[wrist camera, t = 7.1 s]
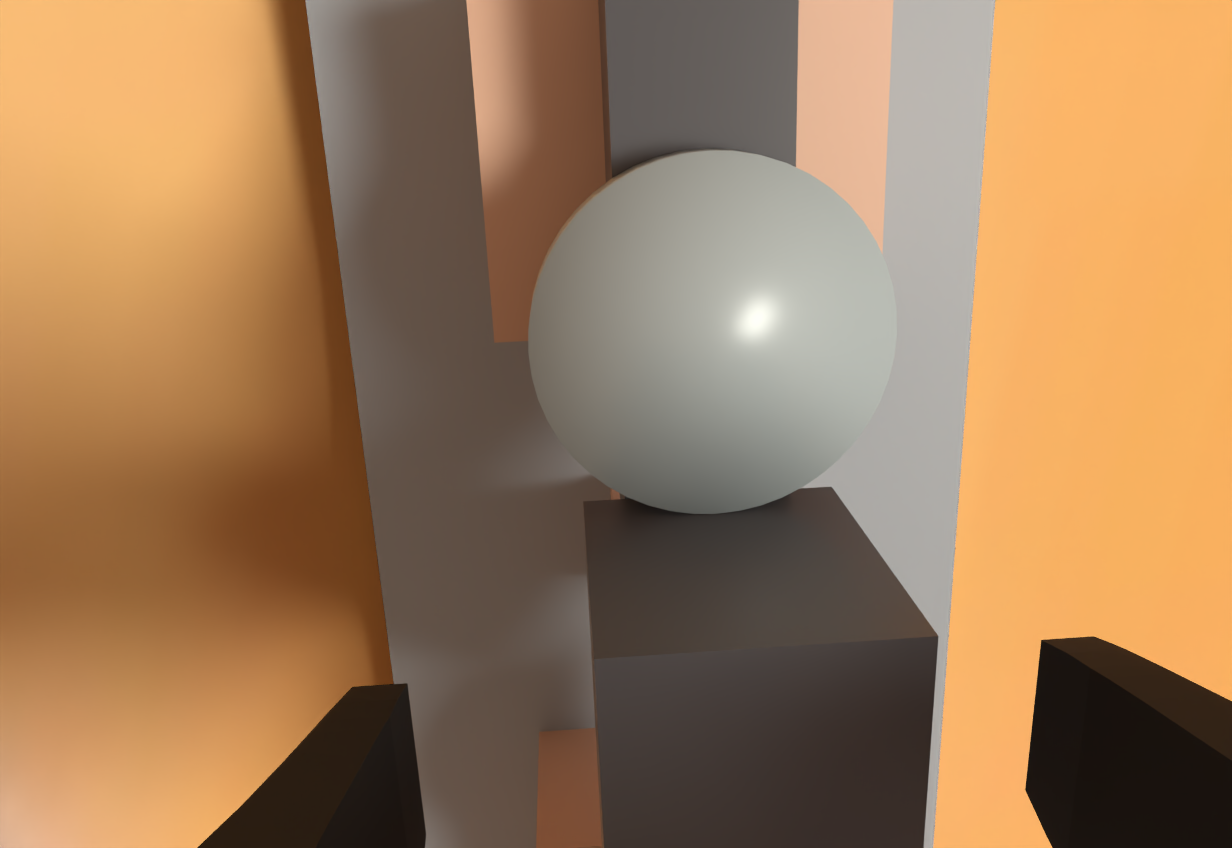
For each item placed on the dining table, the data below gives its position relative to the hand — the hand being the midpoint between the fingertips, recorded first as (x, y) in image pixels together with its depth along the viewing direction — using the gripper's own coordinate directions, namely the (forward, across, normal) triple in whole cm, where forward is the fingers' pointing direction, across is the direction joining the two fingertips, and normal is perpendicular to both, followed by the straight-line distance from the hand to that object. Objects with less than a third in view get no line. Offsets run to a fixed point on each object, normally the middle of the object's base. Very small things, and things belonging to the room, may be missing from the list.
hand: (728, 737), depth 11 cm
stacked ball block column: (+3, 0, 0) cm, 3 cm away
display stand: (+7, 0, 0) cm, 7 cm away
